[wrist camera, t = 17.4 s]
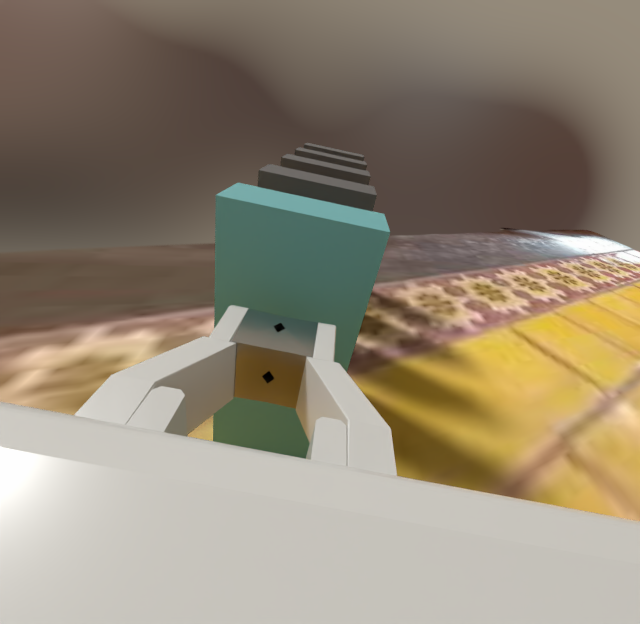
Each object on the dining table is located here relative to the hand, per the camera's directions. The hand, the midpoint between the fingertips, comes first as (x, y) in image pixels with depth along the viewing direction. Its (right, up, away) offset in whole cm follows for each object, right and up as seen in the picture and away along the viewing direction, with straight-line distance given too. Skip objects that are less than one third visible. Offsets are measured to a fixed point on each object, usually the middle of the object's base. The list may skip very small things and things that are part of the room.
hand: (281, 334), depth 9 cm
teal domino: (-1, -6, +7) cm, 9 cm away
